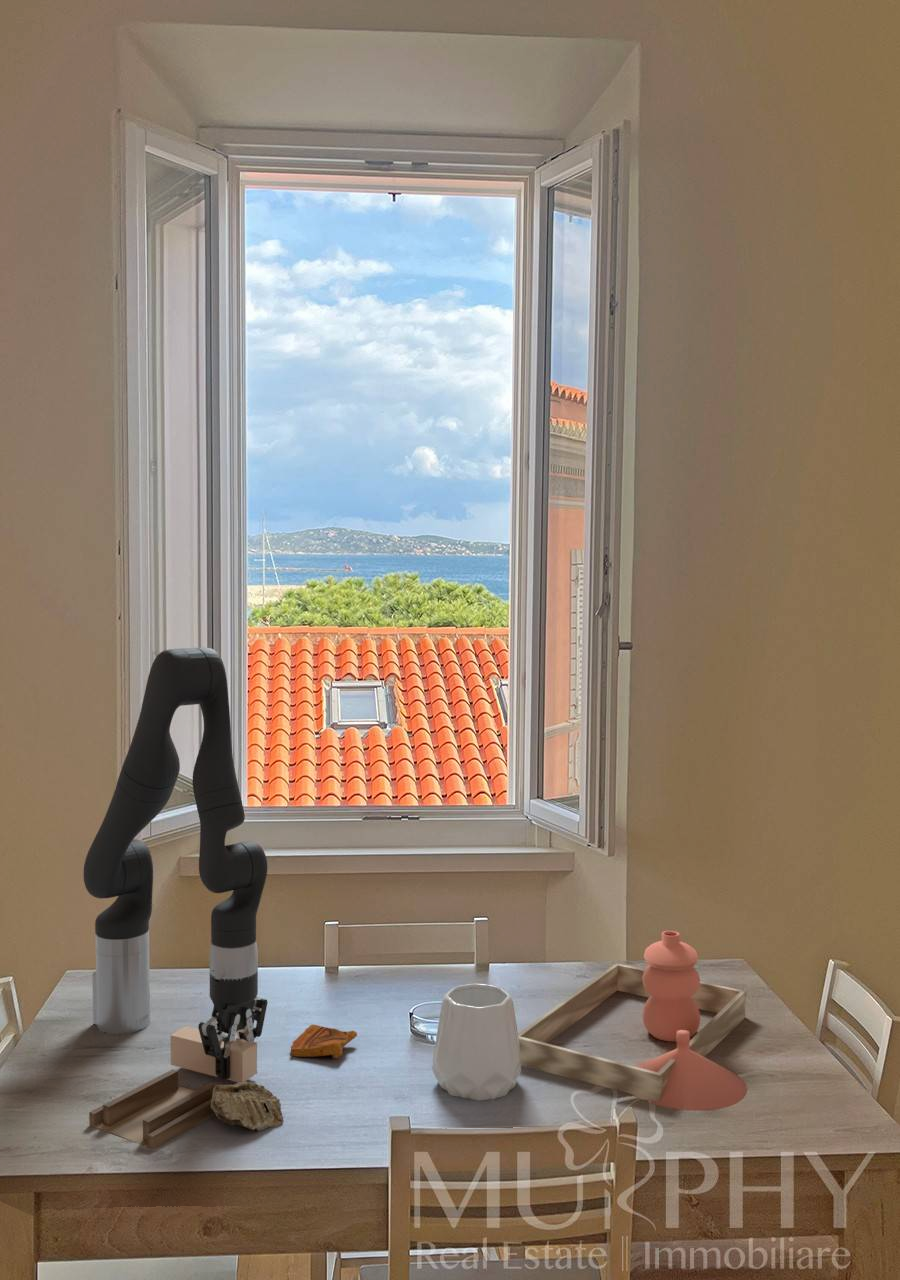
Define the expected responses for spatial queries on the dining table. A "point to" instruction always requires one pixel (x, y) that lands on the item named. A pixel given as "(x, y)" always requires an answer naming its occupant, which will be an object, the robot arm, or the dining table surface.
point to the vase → (477, 1043)
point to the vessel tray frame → (612, 1072)
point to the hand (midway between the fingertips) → (233, 1071)
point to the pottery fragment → (321, 1042)
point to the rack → (154, 1111)
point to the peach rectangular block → (193, 1056)
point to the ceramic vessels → (682, 1030)
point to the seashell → (246, 1105)
